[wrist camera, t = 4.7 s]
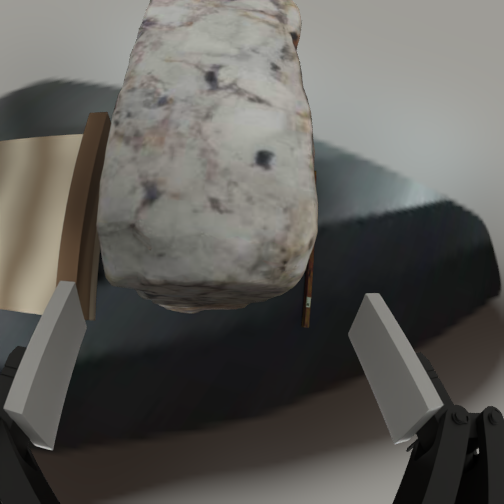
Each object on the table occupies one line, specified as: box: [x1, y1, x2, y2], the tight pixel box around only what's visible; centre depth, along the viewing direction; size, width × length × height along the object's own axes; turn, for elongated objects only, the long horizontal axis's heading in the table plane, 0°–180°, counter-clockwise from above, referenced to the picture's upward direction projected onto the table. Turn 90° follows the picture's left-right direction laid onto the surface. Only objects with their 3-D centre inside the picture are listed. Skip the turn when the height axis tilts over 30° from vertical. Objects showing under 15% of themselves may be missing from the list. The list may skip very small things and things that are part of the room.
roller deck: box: [0, 112, 111, 320], centre depth 21 cm, size 14×15×8 cm
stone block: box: [96, 0, 318, 314], centre depth 18 cm, size 13×7×20 cm, turn 6°
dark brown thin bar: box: [302, 171, 316, 327], centre depth 29 cm, size 15×1×1 cm, turn 174°
